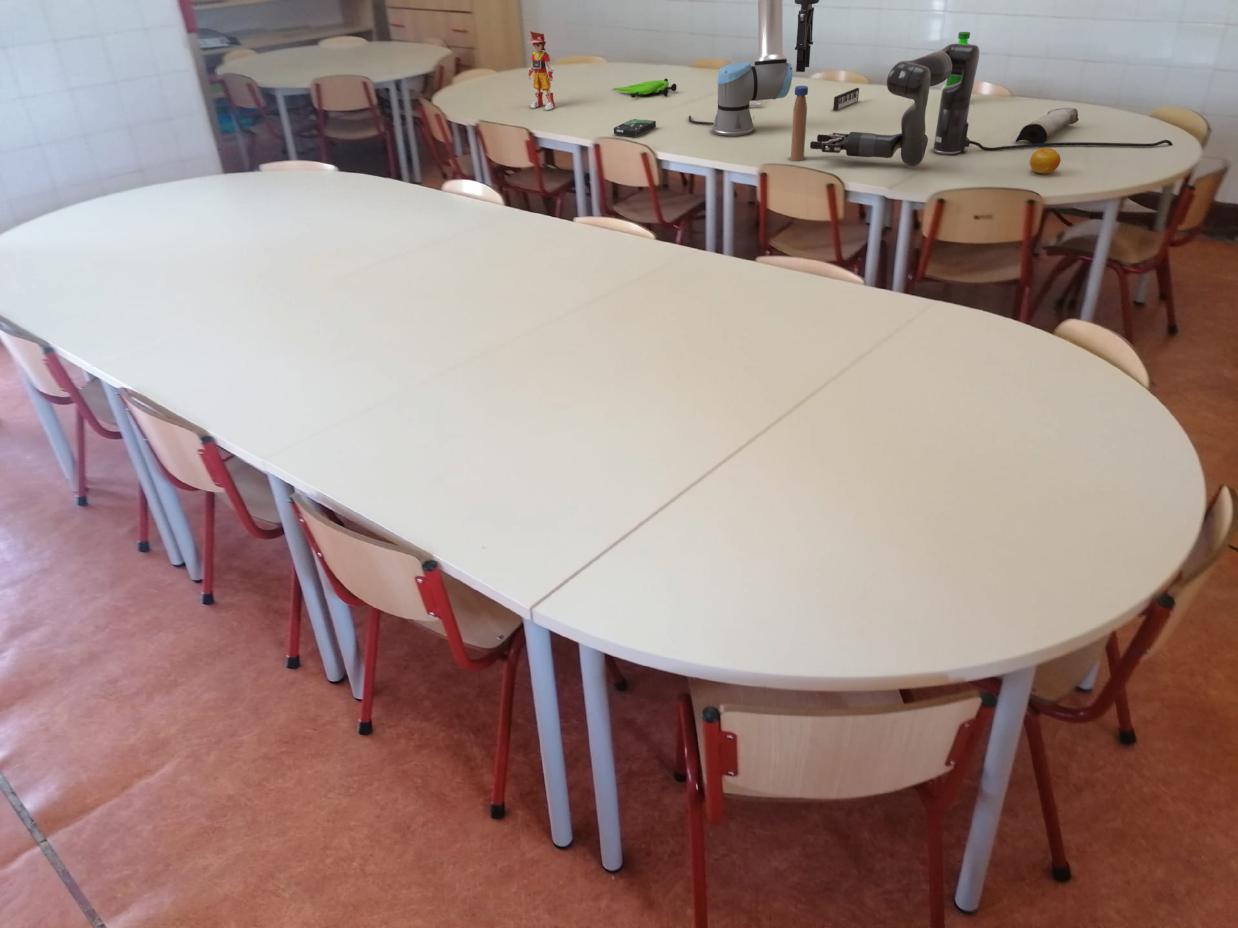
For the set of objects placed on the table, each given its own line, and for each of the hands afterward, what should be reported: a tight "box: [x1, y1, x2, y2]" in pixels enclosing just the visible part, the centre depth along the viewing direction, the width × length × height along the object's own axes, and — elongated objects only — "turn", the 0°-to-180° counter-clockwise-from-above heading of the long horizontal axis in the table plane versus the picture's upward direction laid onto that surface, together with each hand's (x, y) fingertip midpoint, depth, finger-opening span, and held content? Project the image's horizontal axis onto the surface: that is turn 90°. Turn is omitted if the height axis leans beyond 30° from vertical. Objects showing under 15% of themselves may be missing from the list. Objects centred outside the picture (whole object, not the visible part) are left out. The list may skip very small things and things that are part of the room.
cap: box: [794, 85, 809, 97], centre depth 292 cm, size 4×4×2 cm
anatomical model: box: [749, 100, 763, 109], centre depth 366 cm, size 15×10×10 cm
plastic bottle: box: [943, 31, 971, 88], centre depth 348 cm, size 10×10×25 cm
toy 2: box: [612, 78, 677, 99], centre depth 396 cm, size 28×5×30 cm
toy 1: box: [527, 31, 556, 111], centre depth 374 cm, size 12×9×30 cm
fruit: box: [1029, 147, 1062, 174], centre depth 277 cm, size 8×8×8 cm
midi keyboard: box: [832, 87, 860, 111], centre depth 357 cm, size 18×1×5 cm, turn 138°
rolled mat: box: [1014, 107, 1080, 144], centre depth 311 cm, size 30×9×10 cm
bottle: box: [790, 95, 808, 162], centre depth 298 cm, size 4×4×23 cm
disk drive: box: [613, 118, 657, 138], centre depth 342 cm, size 10×3×15 cm
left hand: (802, 69), depth 288 cm, fingers open, 6 cm apart
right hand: (814, 141), depth 299 cm, fingers open, 8 cm apart
